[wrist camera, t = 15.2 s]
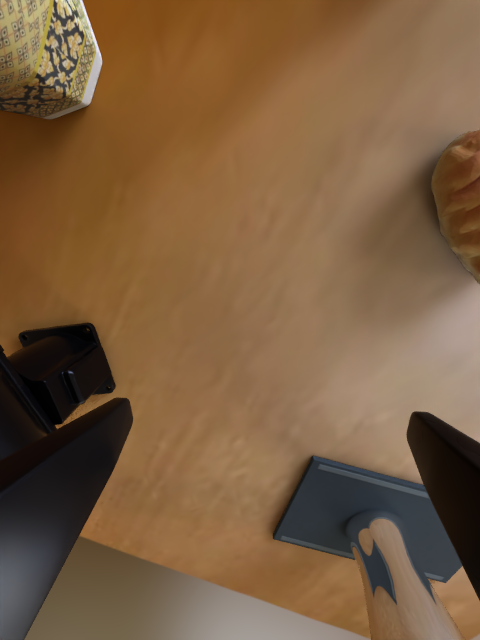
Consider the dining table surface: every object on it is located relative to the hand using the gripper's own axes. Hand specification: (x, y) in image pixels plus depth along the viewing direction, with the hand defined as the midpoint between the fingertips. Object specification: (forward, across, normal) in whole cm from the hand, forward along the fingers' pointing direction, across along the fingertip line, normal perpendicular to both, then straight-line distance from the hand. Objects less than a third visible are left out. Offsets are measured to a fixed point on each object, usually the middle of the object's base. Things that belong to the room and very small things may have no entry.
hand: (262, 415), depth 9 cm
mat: (+13, -12, +24) cm, 30 cm away
